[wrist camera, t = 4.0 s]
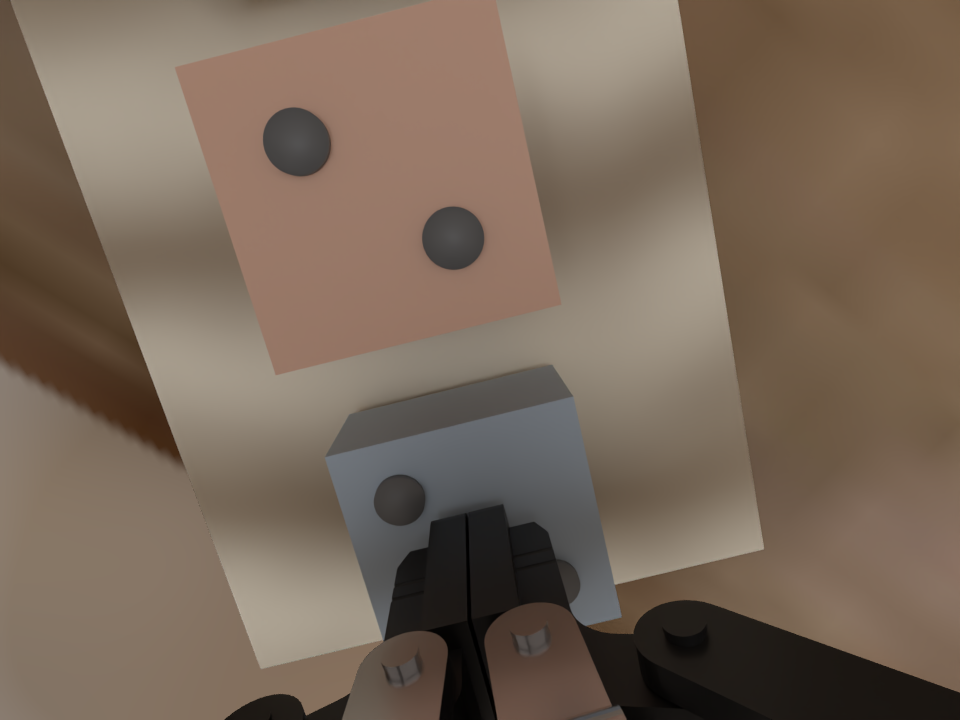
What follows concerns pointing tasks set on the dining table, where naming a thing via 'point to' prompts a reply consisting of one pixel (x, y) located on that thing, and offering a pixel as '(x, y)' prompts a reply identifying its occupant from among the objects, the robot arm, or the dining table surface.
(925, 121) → the dining table surface
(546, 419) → the grey block
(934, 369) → the dining table surface
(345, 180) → the tile
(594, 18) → the board
